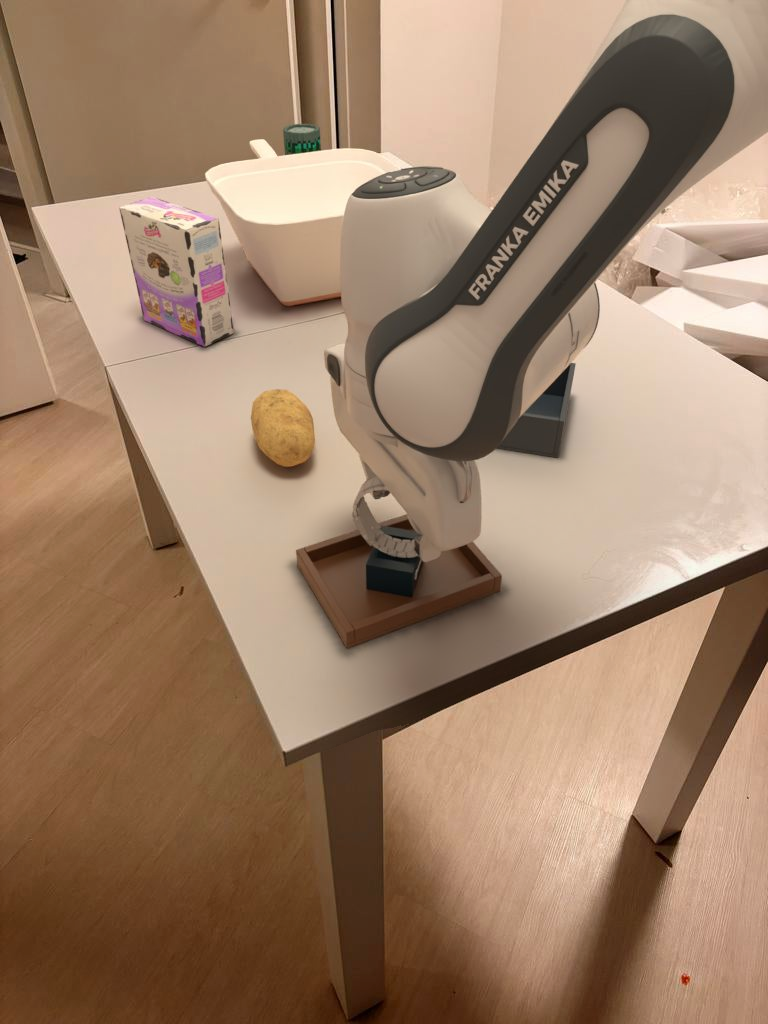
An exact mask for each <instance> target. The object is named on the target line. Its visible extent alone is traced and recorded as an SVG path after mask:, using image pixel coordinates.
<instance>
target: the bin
mask: <svg viewBox="0 0 768 1024" xmlns="http://www.w3.org/2000/svg"><path fill="white" fill-rule="evenodd" d="M576 365H577V363H575V362H571V363H570V364H569V366H568V367H567V368H566V369H565V370H564V371H563V372H562V373H561V374H560V375H559V376H558V377H557V378H556V379H555V381H554V382H553V383H552V384H551V385H550V386H549V387H548V388H547V389H546V390H545V391H544V392H543V393H542V394H541V395H540V396H539V397H538V399H537V400H536V401H535V402H534V403H533V404H532V405H531V406H530V407H529V408H528V409H527V410H526V411H525V412H524V413H523V414H522V415H521V417H520V418H519V419H518V421H517V422H516V424H515V425H514V427H513V428H512V429H511V430H510V432H509V433H508V434H507V436H506V437H505V438H504V439H503V441H502V442H501V443H500V445H499V446H498V447H497V448H496V449H499V450H500V449H501V450H507V451H513V452H519V453H525V454H531V455H539V456H545V457H551V458H557V459H559V457H560V451H561V447H562V443H563V442H562V441H563V435H564V430H565V426H566V420H567V415H568V410H569V405H570V398H571V394H572V388H573V382H574V375H575V370H576Z"/></svg>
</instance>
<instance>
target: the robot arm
mask: <svg viewBox="0 0 768 1024" xmlns="http://www.w3.org/2000/svg"><path fill="white" fill-rule="evenodd" d="M767 133H768V0H626V1H625V2H624V5H623V6H622V7H621V9H620V11H619V12H618V15H617V17H616V18H615V20H614V21H613V22H612V25H611V26H610V28H609V30H608V31H607V33H606V35H605V37H604V38H603V40H602V42H601V43H600V45H599V46H598V49H597V50H596V52H595V53H594V56H593V57H592V59H591V60H590V62H589V64H588V66H587V68H586V69H585V71H584V73H583V75H582V77H581V78H580V80H579V81H578V84H577V85H576V87H575V89H574V90H573V92H572V94H571V96H570V98H569V99H568V101H567V102H566V103H565V105H564V107H563V108H562V110H561V111H560V112H559V114H558V115H557V117H556V118H555V120H554V121H553V123H552V124H551V126H550V128H549V129H548V130H547V132H546V133H545V135H544V136H543V138H542V139H541V140H540V142H539V143H538V144H537V146H536V147H535V149H534V150H533V152H532V153H531V154H530V156H529V157H528V159H527V160H526V162H525V163H524V165H523V166H521V167H522V168H520V170H519V171H518V173H517V174H516V176H515V177H514V179H513V180H512V181H511V182H510V184H509V185H508V187H507V189H506V190H505V191H504V193H503V194H502V195H501V197H500V199H499V200H498V201H497V203H496V204H495V206H494V207H493V208H492V210H491V208H489V207H488V206H487V205H485V203H483V202H481V201H480V200H479V199H478V197H476V196H475V195H474V193H473V192H472V191H471V189H470V188H469V187H468V185H467V184H466V182H465V180H464V179H463V178H462V177H461V176H460V175H459V174H458V173H456V172H455V171H453V170H451V169H446V168H444V167H442V166H432V165H431V166H429V165H427V166H413V167H406V168H401V170H398V171H393V172H387V173H385V174H382V175H380V176H378V177H375V178H373V179H371V180H369V181H368V182H366V183H364V184H362V185H361V186H359V187H358V188H357V189H355V191H354V192H353V193H352V194H351V195H350V197H349V199H348V201H347V204H346V207H345V212H344V216H343V222H342V231H341V247H340V280H341V297H340V298H341V299H340V300H341V307H342V310H343V313H344V316H345V318H346V321H347V336H346V339H345V342H343V343H339V344H336V345H332V346H329V347H327V348H325V349H324V352H323V360H324V367H325V370H326V372H327V373H328V374H329V375H330V391H331V400H332V408H333V413H334V418H335V421H336V424H337V427H338V429H339V431H340V433H341V434H342V435H343V437H344V438H345V439H346V440H347V442H348V443H350V445H351V446H352V448H353V449H354V450H355V451H356V453H358V457H359V461H360V463H361V467H362V469H363V472H364V476H365V481H366V480H367V479H368V478H370V477H372V476H373V475H375V474H376V476H377V477H378V478H379V479H380V481H381V482H382V483H383V484H384V486H385V487H386V488H387V489H388V490H384V489H383V490H377V491H375V490H374V491H373V492H370V493H369V494H370V496H371V497H372V498H373V499H374V500H380V499H381V498H385V497H388V496H389V495H391V496H392V497H393V498H394V500H395V501H396V502H397V503H398V505H399V506H400V507H401V508H402V509H403V510H404V512H405V514H408V515H409V516H410V518H411V519H412V520H413V521H414V523H415V524H416V525H417V526H418V527H419V529H420V532H421V533H422V534H423V535H421V536H418V537H415V539H414V544H415V547H414V550H415V551H416V553H417V554H418V556H419V557H420V558H421V560H422V561H423V562H428V561H431V560H434V559H436V558H438V557H439V556H440V554H441V552H443V551H448V550H451V549H455V548H458V547H461V546H464V545H466V544H468V543H471V542H473V543H474V541H476V540H477V539H479V537H480V535H481V532H482V523H483V522H482V519H483V518H482V517H483V516H482V512H483V511H482V485H481V476H480V470H479V467H478V465H477V462H476V460H481V459H482V458H485V457H487V456H489V455H490V454H492V453H493V452H494V451H495V450H496V449H498V448H497V447H498V446H499V445H500V443H501V442H502V441H503V439H504V438H505V437H506V436H507V434H508V433H509V432H510V430H511V429H512V428H513V427H514V425H515V424H516V422H517V421H518V419H519V418H520V417H521V415H522V414H523V413H524V412H525V411H526V410H527V409H528V408H529V407H530V406H531V405H532V404H533V403H534V402H535V401H536V400H537V399H538V397H539V396H540V395H541V394H542V393H543V392H544V391H545V390H546V389H547V388H548V387H549V386H550V385H551V384H552V383H553V382H554V381H555V379H556V378H557V377H558V376H559V375H560V374H561V373H562V372H563V371H564V370H565V369H566V368H567V367H568V366H569V364H570V363H573V361H574V360H575V359H576V358H577V357H578V356H579V355H580V353H582V351H583V350H584V349H585V348H586V347H587V346H588V345H589V343H590V342H591V340H592V339H593V338H594V335H595V334H596V330H597V328H598V324H599V320H600V314H601V313H600V312H601V311H600V309H601V304H600V303H601V302H600V296H599V290H598V287H597V284H596V282H597V281H598V280H599V278H600V277H601V276H602V275H603V274H604V273H605V271H606V270H607V269H609V267H610V266H611V264H613V263H614V261H615V260H616V259H617V257H619V255H620V254H621V253H622V252H623V251H624V250H625V248H627V246H628V245H629V244H630V243H631V241H632V240H633V239H635V237H636V236H637V235H639V233H640V232H641V231H643V229H644V228H645V227H647V225H648V224H649V223H651V222H652V221H653V220H654V219H655V218H656V217H657V216H658V215H660V213H661V212H663V211H664V210H666V208H668V207H669V206H670V205H671V204H672V203H674V202H675V201H676V200H677V199H678V198H679V197H681V196H682V195H683V194H684V193H686V192H687V191H688V190H690V189H691V188H692V187H693V186H695V185H696V184H697V183H699V182H700V181H702V180H703V179H704V178H705V177H707V176H708V175H710V174H711V173H712V172H713V171H715V170H716V169H718V168H720V167H721V166H722V165H723V164H725V163H726V162H728V161H729V160H731V159H732V158H733V157H735V156H736V155H738V154H739V153H740V152H742V151H744V150H745V149H746V148H748V147H749V146H750V145H752V144H753V143H754V142H756V141H757V140H759V139H760V138H762V137H763V136H765V135H766V134H767Z"/></svg>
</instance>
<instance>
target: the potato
mask: <svg viewBox="0 0 768 1024" xmlns="http://www.w3.org/2000/svg"><path fill="white" fill-rule="evenodd" d="M250 421H251V422H250V423H251V428H252V433H253V436H254V439H255V442H256V444H257V446H258V448H259V450H260V451H261V452H262V453H263V454H264V455H265V456H266V457H268V458H269V459H270V460H271V461H272V462H274V463H275V464H276V465H278V466H281V467H283V468H285V467H286V468H289V467H290V468H291V467H294V466H297V465H300V464H302V463H304V462H306V461H307V460H308V459H309V458H310V457H311V456H312V453H313V451H314V449H315V443H316V435H315V423H314V418H313V416H312V413H311V411H310V409H309V408H308V406H307V405H306V404H305V403H304V402H303V401H302V400H301V399H300V398H299V397H298V395H296V394H294V393H293V392H291V391H290V390H288V389H280V388H275V389H271V390H265V391H263V392H261V393H260V394H259V395H258V396H256V398H255V399H254V401H253V402H252V407H251V415H250Z"/></svg>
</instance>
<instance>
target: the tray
mask: <svg viewBox="0 0 768 1024" xmlns="http://www.w3.org/2000/svg"><path fill="white" fill-rule="evenodd" d="M378 524H379V525H380V526H388V527H393V528H399V529H405V530H411V531H415V530H414V528H413V527H412V525H411V524H410V522H409V519H408V517H407V513H405V514H402V515H400V516H397V517H394V518H391V519H387V520H384V521H381V522H378ZM380 528H381V527H380ZM372 548H373V545H371V546H370V545H369V544H368V543H367V542H366V540H365V539H364V538H363V536H362V535H361V533H360V532H359V530H358V529H356V530H354V531H350V532H348V533H343V534H341V535H338V536H334V537H332V538H329V539H326V540H322V541H319V542H316V543H313V544H310V545H307V546H304V547H301V548H298V549H296V550H295V556H296V565H297V568H298V570H299V571H300V572H301V575H302V576H303V577H304V580H305V581H306V583H307V584H308V586H309V587H310V589H311V591H312V592H313V594H314V596H315V597H316V599H317V601H318V602H319V605H320V606H321V607H322V610H323V611H324V612H325V614H326V616H327V618H328V620H329V621H330V622H331V625H332V626H333V627H334V629H335V631H336V632H337V634H338V636H339V637H340V639H341V641H342V642H343V644H344V646H345V648H346V649H349V648H352V647H354V646H358V645H359V644H362V643H365V642H367V641H370V640H373V639H376V638H378V637H381V636H383V635H386V634H389V633H391V632H394V631H397V630H399V629H402V628H405V627H408V626H410V625H412V624H413V625H414V624H415V623H418V622H421V621H423V620H426V619H428V618H431V617H434V616H437V615H439V614H442V613H444V612H447V611H450V610H452V609H455V608H457V607H461V606H463V605H466V604H469V603H471V602H474V601H477V600H479V599H483V598H484V597H487V596H490V595H493V594H495V593H498V592H500V591H501V586H502V579H503V575H502V574H501V572H500V571H499V570H498V569H497V568H496V567H495V566H494V565H493V563H492V562H491V561H490V560H489V559H488V558H487V556H486V555H485V554H484V553H483V551H481V550H480V548H479V547H478V546H477V545H476V544H475V542H474V541H473V542H471V543H468V544H466V545H464V546H461V547H458V548H455V549H451V550H448V551H443V552H441V554H440V556H439V557H438V558H436V559H434V560H431V561H428V562H423V565H422V568H421V571H420V575H419V578H418V581H417V584H416V587H415V590H414V593H413V596H412V598H411V597H406V596H401V595H395V594H390V593H385V592H379V591H374V590H369V589H366V563H367V560H368V558H369V555H370V553H371V550H372Z"/></svg>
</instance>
